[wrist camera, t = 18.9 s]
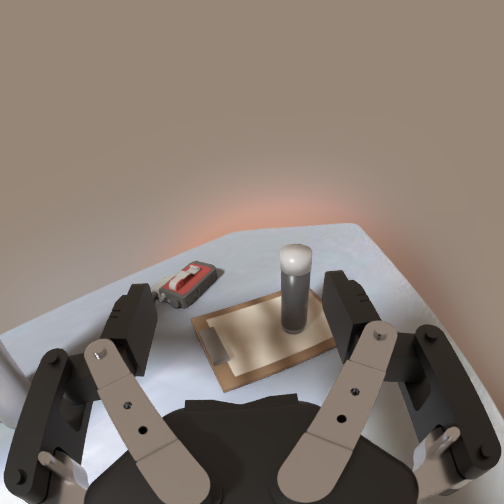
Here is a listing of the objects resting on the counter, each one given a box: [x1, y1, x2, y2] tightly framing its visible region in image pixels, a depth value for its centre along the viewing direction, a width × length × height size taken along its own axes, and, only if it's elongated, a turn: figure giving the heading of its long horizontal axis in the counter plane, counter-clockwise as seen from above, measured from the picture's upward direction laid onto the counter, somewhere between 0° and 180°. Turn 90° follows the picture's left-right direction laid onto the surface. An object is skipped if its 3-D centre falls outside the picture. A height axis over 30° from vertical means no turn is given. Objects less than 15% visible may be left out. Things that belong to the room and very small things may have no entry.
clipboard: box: [191, 288, 337, 393], centre depth 46 cm, size 22×16×2 cm
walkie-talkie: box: [151, 261, 217, 309], centre depth 55 cm, size 9×4×20 cm
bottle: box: [280, 244, 312, 334], centre depth 42 cm, size 4×4×14 cm
